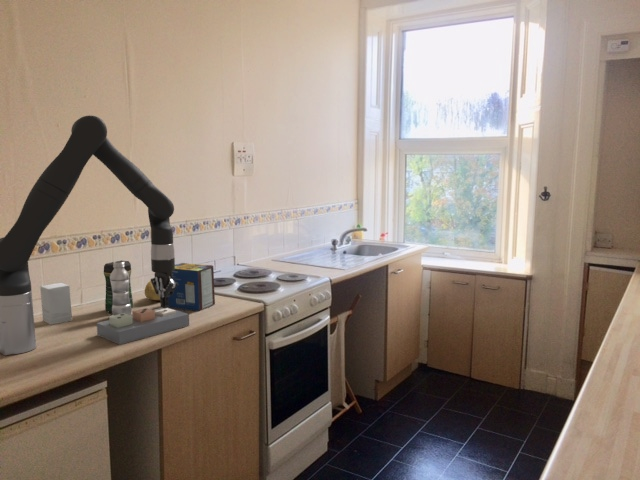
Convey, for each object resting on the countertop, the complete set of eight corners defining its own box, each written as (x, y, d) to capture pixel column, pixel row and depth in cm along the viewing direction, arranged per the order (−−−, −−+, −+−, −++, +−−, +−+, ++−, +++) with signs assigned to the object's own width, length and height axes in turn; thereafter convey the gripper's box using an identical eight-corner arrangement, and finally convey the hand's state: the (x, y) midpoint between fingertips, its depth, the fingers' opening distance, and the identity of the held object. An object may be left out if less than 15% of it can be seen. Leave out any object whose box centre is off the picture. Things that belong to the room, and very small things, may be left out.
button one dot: (163, 326, 175) (163, 313, 174) (155, 323, 178) (154, 310, 177) (176, 323, 178) (175, 310, 178) (168, 320, 182) (167, 307, 181)
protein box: (182, 300, 210) (181, 262, 208) (215, 304, 204) (214, 265, 202) (165, 307, 200) (163, 267, 198) (199, 311, 194) (197, 270, 192)
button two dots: (118, 333, 162) (117, 319, 162) (110, 330, 166) (109, 316, 165) (132, 329, 166) (132, 315, 165) (124, 326, 169) (124, 312, 169)
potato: (180, 297, 215) (179, 274, 214) (152, 305, 203) (151, 281, 202) (162, 294, 220) (161, 272, 219) (135, 302, 208) (133, 278, 207)
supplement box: (72, 320, 183) (70, 285, 181) (50, 325, 178) (47, 289, 176) (64, 316, 188) (61, 282, 186) (42, 321, 183) (39, 285, 181)
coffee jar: (117, 314, 190) (114, 264, 188) (101, 312, 194) (98, 262, 191) (137, 308, 199) (134, 260, 196) (121, 305, 202) (119, 258, 200)
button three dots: (141, 327, 168) (140, 313, 168) (133, 324, 172) (132, 310, 171) (155, 324, 172) (154, 310, 171) (147, 321, 175) (146, 307, 175)
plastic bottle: (125, 320, 184) (122, 263, 181) (108, 319, 185) (104, 263, 182) (135, 314, 190) (132, 260, 187) (118, 313, 191) (115, 260, 188)
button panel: (119, 344, 158) (119, 331, 158) (97, 335, 167) (96, 322, 167) (189, 325, 177) (188, 314, 176) (165, 317, 186) (165, 306, 185)
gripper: (142, 256, 176) (144, 306, 179) (164, 260, 168) (166, 313, 170) (161, 253, 182) (163, 302, 184) (184, 257, 173) (185, 308, 176)
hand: (164, 307), depth 177 cm, fingers closed
